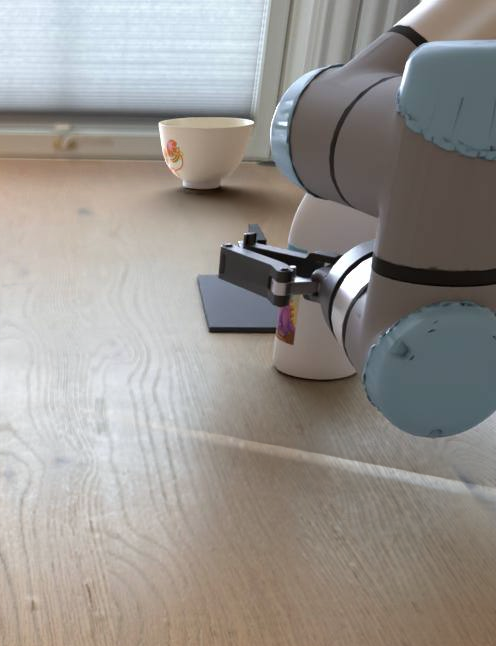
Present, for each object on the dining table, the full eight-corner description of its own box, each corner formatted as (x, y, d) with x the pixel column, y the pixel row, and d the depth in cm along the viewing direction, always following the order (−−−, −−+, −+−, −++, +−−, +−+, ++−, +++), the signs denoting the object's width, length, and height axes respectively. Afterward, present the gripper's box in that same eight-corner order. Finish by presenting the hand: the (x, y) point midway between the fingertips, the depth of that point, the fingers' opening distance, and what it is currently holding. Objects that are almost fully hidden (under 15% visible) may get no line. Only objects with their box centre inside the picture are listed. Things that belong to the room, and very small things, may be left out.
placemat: (391, 332, 97) (392, 327, 97) (208, 331, 99) (209, 327, 99) (350, 278, 116) (351, 274, 115) (196, 278, 117) (197, 274, 117)
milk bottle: (369, 362, 90) (414, 117, 79) (344, 387, 84) (388, 128, 73) (288, 350, 93) (319, 114, 82) (259, 373, 88) (288, 124, 77)
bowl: (146, 181, 178) (149, 119, 172) (232, 177, 179) (237, 115, 173) (167, 196, 164) (171, 129, 159) (260, 191, 166) (267, 125, 160)
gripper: (195, 361, 69) (181, 285, 87) (565, 363, 67) (473, 285, 84) (204, 249, 65) (188, 193, 82) (598, 247, 62) (495, 191, 80)
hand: (332, 240), depth 83 cm, fingers open, 13 cm apart
